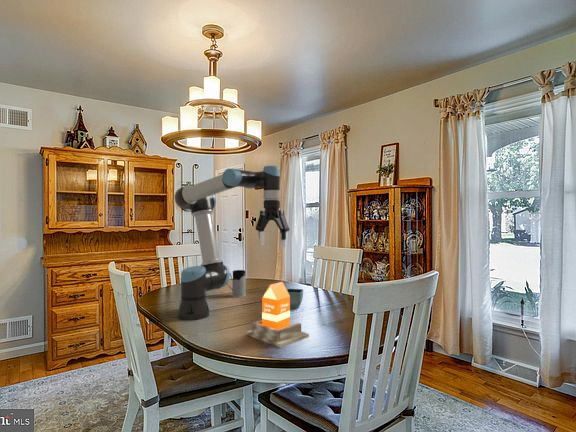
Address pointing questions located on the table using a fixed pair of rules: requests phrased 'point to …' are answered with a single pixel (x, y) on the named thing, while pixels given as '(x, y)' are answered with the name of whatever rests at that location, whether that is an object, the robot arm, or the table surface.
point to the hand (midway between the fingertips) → (271, 246)
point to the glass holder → (238, 283)
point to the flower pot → (295, 297)
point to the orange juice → (276, 307)
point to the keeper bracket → (277, 334)
